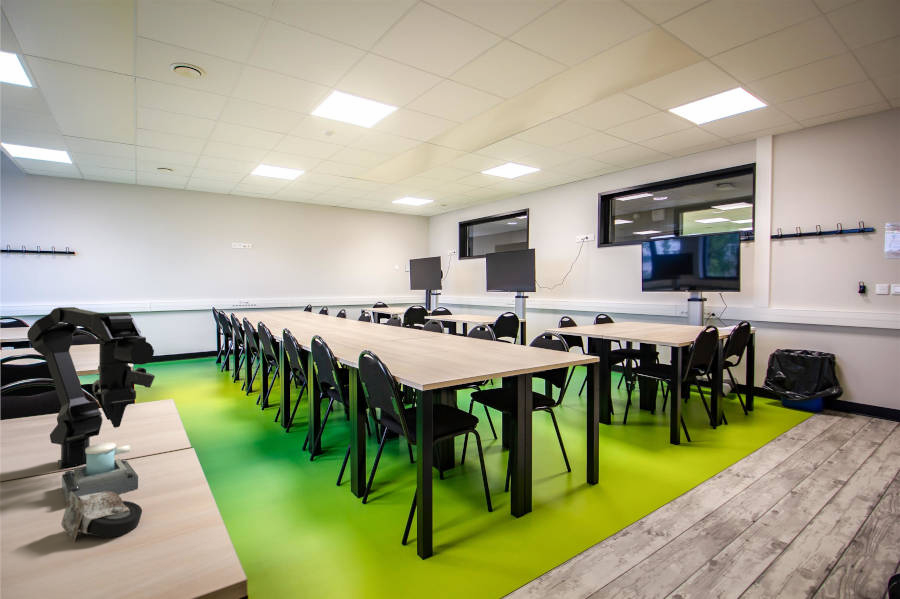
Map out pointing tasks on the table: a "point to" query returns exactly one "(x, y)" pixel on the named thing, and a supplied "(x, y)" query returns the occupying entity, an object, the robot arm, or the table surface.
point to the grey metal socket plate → (100, 480)
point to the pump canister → (102, 457)
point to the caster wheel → (100, 515)
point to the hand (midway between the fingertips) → (113, 423)
